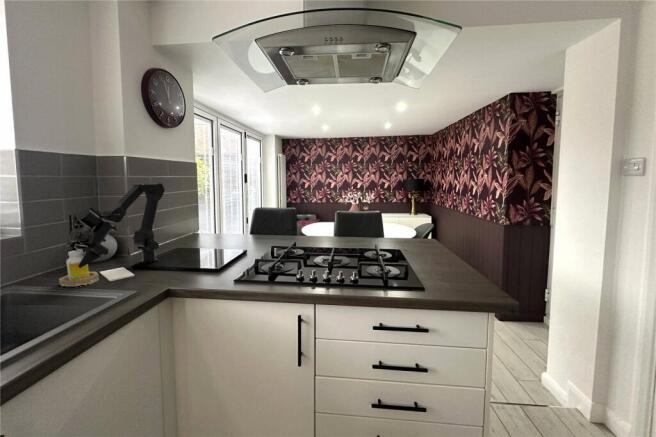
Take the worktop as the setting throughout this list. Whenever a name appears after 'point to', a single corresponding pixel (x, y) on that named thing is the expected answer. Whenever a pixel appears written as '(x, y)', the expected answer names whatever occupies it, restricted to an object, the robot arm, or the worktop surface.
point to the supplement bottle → (76, 266)
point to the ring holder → (92, 278)
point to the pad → (116, 274)
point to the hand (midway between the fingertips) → (73, 266)
